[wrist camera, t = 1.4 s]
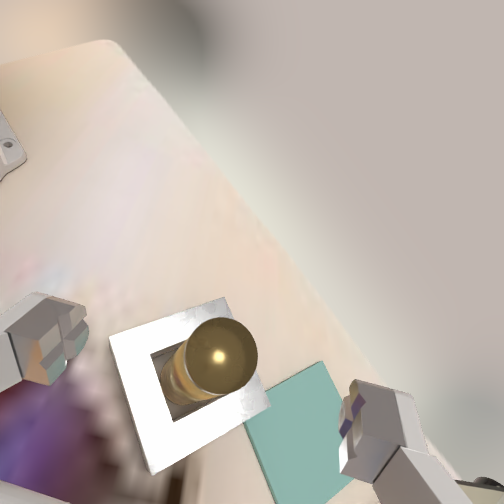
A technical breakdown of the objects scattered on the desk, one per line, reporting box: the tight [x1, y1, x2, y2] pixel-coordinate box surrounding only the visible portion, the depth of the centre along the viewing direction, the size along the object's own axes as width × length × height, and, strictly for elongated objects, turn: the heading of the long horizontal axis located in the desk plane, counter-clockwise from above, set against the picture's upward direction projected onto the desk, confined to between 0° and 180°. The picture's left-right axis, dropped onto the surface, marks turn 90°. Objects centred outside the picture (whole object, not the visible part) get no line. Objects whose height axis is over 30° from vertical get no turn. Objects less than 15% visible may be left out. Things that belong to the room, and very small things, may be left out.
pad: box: [243, 361, 354, 504], centre depth 36 cm, size 12×12×1 cm
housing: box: [109, 297, 271, 476], centre depth 32 cm, size 12×12×4 cm
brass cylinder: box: [160, 317, 258, 405], centre depth 28 cm, size 5×5×14 cm
